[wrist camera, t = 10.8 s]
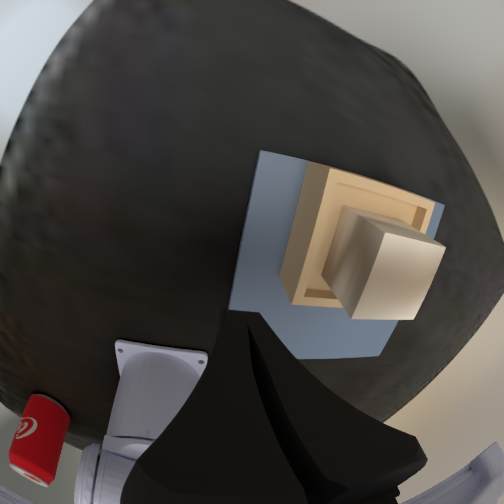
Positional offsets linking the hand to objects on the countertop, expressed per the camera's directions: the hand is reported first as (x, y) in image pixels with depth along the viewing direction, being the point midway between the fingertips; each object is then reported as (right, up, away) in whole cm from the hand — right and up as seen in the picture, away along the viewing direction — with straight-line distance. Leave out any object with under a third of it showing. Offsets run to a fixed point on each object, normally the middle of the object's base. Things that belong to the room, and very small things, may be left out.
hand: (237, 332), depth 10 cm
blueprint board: (+7, +1, +11) cm, 13 cm away
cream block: (+7, +3, +7) cm, 10 cm away
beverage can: (-26, -17, +15) cm, 34 cm away
